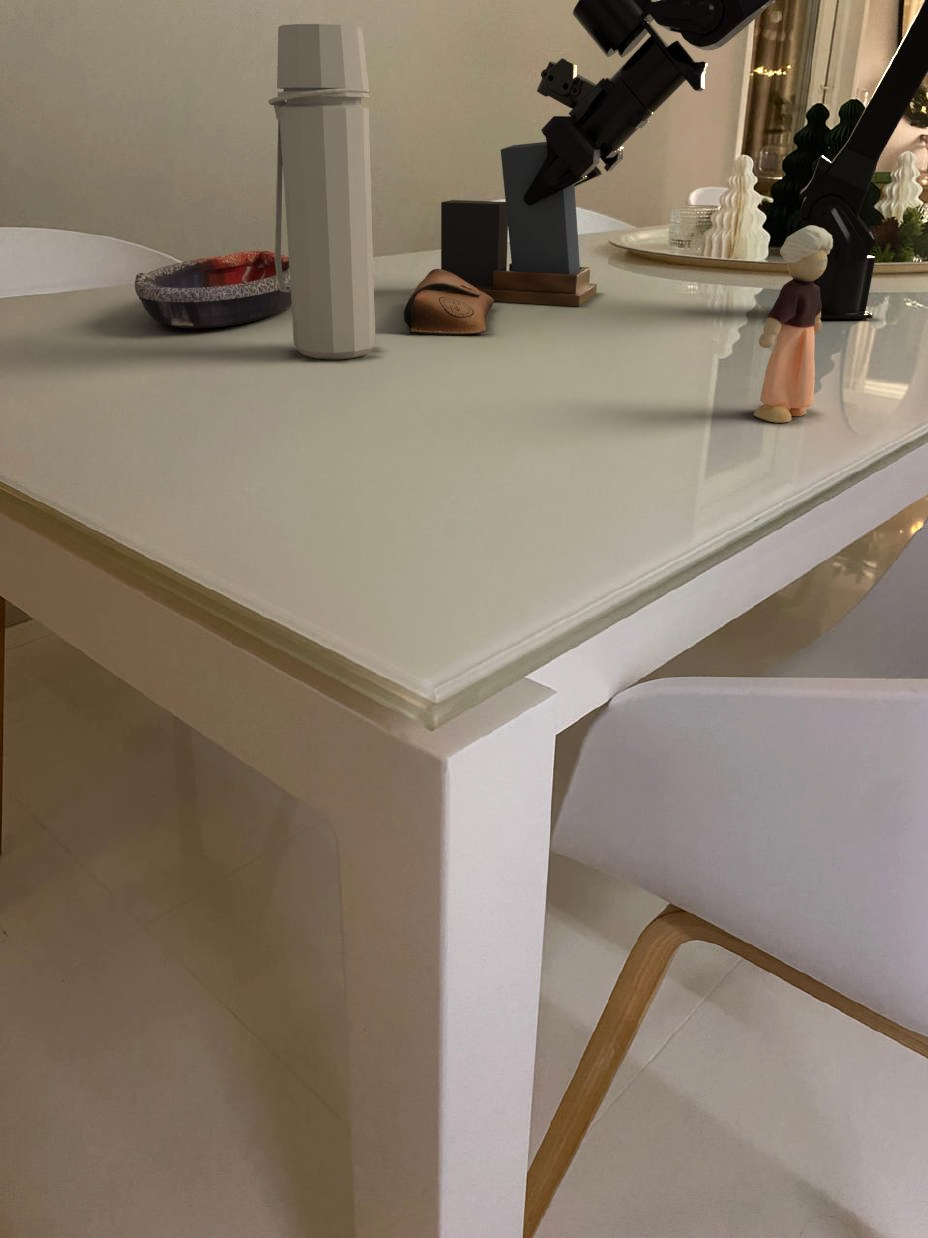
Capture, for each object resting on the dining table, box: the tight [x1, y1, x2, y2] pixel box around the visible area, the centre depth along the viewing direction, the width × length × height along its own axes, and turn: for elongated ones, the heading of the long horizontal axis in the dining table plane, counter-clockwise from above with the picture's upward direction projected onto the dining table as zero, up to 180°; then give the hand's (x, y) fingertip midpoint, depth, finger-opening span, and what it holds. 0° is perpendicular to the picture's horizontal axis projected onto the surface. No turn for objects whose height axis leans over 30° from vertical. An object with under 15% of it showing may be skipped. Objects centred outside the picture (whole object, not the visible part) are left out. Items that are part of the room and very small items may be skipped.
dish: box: [134, 250, 292, 329], centre depth 107 cm, size 16×31×5 cm, turn 171°
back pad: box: [500, 141, 581, 274], centre depth 115 cm, size 7×4×14 cm, turn 66°
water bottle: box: [267, 23, 376, 361], centre depth 84 cm, size 9×8×25 cm
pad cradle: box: [440, 199, 598, 308], centre depth 118 cm, size 18×10×10 cm, turn 72°
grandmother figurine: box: [753, 226, 833, 424], centre depth 70 cm, size 8×4×13 cm, turn 148°
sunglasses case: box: [403, 268, 495, 336], centre depth 105 cm, size 18×7×7 cm
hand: (531, 200), depth 115 cm, fingers closed on back pad, 4 cm apart
